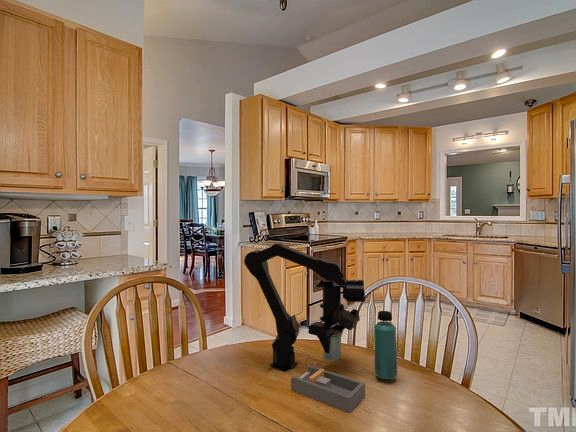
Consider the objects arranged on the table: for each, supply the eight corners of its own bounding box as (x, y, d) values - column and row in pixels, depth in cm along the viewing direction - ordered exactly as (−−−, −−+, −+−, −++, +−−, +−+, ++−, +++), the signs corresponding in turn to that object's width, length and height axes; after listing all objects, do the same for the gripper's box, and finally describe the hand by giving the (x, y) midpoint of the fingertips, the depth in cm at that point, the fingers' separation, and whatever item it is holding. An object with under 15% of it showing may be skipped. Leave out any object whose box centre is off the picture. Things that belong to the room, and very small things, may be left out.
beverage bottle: (398, 385, 94) (398, 315, 94) (374, 383, 95) (374, 314, 95) (395, 374, 100) (395, 309, 100) (373, 372, 101) (373, 308, 101)
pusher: (308, 389, 90) (308, 377, 90) (321, 380, 95) (321, 368, 95) (321, 394, 87) (321, 382, 87) (334, 384, 92) (333, 372, 92)
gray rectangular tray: (291, 389, 92) (291, 377, 92) (309, 376, 99) (309, 365, 99) (349, 412, 81) (349, 398, 81) (365, 396, 88) (365, 382, 88)
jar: (319, 357, 103) (319, 332, 103) (328, 351, 108) (328, 327, 108) (335, 362, 100) (335, 335, 100) (344, 355, 104) (344, 330, 104)
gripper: (340, 312, 92) (340, 367, 92) (367, 298, 106) (368, 346, 106) (307, 305, 98) (307, 357, 98) (337, 293, 113) (337, 339, 113)
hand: (332, 350), depth 104 cm, fingers closed on jar, 6 cm apart
